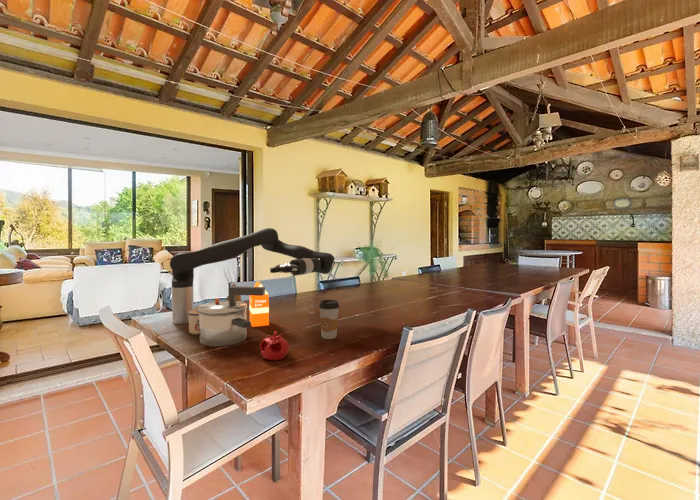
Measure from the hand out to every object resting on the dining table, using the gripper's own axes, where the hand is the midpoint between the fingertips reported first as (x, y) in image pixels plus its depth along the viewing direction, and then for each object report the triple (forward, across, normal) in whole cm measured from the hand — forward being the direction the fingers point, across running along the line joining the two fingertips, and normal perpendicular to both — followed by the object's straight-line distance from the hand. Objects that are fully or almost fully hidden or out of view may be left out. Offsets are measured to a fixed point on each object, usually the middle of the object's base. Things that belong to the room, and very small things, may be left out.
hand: (271, 270), depth 148 cm
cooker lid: (+15, -6, +15) cm, 22 cm away
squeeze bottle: (-2, -32, +27) cm, 42 cm away
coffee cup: (-12, +22, +28) cm, 37 cm away
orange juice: (-5, -17, +28) cm, 33 cm away
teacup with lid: (+18, -26, +27) cm, 42 cm away
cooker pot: (+18, -5, +27) cm, 33 cm away
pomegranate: (+17, +23, +28) cm, 39 cm away
